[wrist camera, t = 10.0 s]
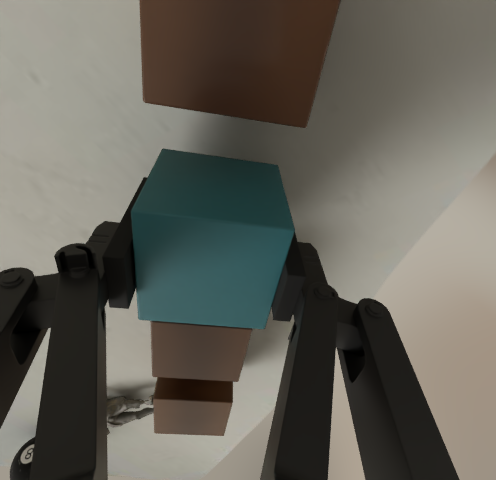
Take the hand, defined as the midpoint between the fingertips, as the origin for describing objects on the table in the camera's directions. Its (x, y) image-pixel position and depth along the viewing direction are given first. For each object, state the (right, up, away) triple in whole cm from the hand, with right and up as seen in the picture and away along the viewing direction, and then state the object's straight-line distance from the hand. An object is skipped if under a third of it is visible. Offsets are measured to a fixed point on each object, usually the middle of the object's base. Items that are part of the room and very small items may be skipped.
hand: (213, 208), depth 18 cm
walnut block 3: (-3, -13, +13) cm, 18 cm away
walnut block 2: (-1, -6, +7) cm, 9 cm away
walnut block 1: (+1, +9, -3) cm, 9 cm away
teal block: (0, 0, 0) cm, 0 cm away
